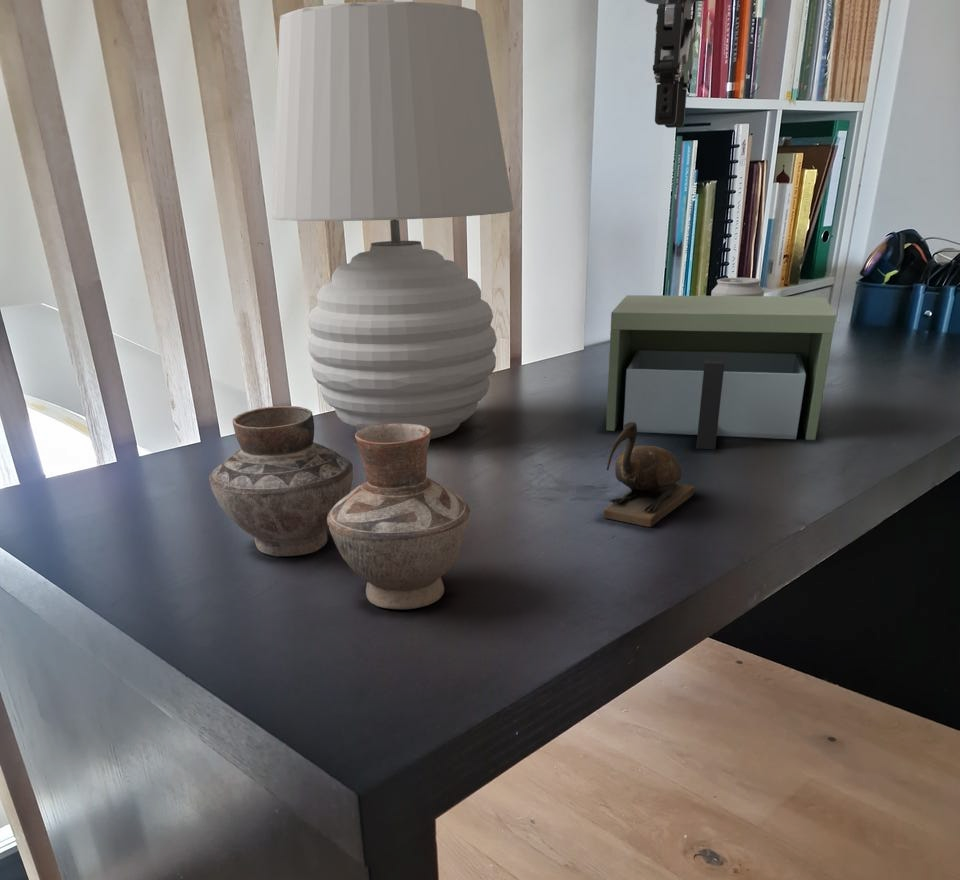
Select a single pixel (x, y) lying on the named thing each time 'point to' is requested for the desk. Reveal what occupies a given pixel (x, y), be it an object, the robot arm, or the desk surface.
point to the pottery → (345, 502)
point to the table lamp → (392, 200)
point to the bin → (715, 394)
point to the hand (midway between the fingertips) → (669, 126)
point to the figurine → (645, 482)
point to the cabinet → (723, 337)
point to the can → (738, 287)
